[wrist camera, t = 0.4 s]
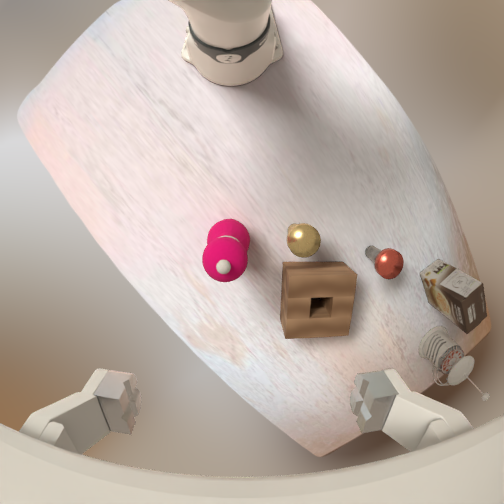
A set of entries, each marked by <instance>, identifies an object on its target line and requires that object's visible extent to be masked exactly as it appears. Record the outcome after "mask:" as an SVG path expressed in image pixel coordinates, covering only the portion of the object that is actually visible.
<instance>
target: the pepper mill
mask: <svg viewBox="0 0 504 504" xmlns="http://www.w3.org/2000/svg"><path fill="white" fill-rule="evenodd" d="M207 244H208V245H207V246H206V248H205V250H204V252H203V259H202V260H203V266H204V269H205V271H206V272H207V274H208V275H209V276H210V277H211V278H213V279H215V280H217V281H220V282H230V281H233V280H235V279H237V278H239V277H240V276H241V275H242V274H243V272H244V271H245V269H246V267H247V261H248V257H247V251H248V248H249V244H250V236H249V233H248V231H247V229H246V228H245V227H244V226H243V225H242V224H241V223H240V222H238V221H236V220H234V219H225V220H222V221H219V222H217V223H216V224H215V225H214V226H213V227H212V228H211V229H210V231H209V234H208V238H207Z"/></svg>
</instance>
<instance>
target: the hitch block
mask: <svg viewBox="0 0 504 504" xmlns="http://www.w3.org/2000/svg"><path fill="white" fill-rule="evenodd" d="M356 281H357V274H356V273H355V272H354V271H353V270H352V269H350V268H349V267H348V266H347V265H346V264H345V263H344V262H283V271H282V293H281V312H280V320H281V324H282V328H283V332H284V335H285V339H293V338H315V337H332V336H346V335H349V329H350V323H351V316H352V310H353V303H354V296H355V289H356ZM318 297H320V300H311V298H318Z"/></svg>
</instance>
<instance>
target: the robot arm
mask: <svg viewBox="0 0 504 504" xmlns="http://www.w3.org/2000/svg"><path fill="white" fill-rule="evenodd" d="M168 1H170V2H172V3H174V4H175V5H177V6H179V7H180V8H181V9H183V10H184V12H185V14H186V15H187V17H188V19H189V26H187V28H186V33H187V36H186V39H185V43H184V46H183V49H182V52H181V56H182V58H183V59H184V60H185V61H187V62H189V63H191V64H193V65H194V66H195V67H196V69H197V70H198V71H199V73H200V74H201V75H202V76H203V77H205V78H206V79H207V80H209V81H211V82H213V83H216V84H219V85H225V86H236V85H242V84H245V83H248V82H250V81H252V80H254V79H256V78H257V77H259V76H260V75H261V74H262V73H263V72H264V71H265V69H266V68H267V67H268V66H269V65H270V64H271V63H273V62H275V61H277V60H279V59H281V58H282V56H283V50H282V46H281V42H280V38H279V35H278V31H277V27H276V23H275V20H274V16H273V13H272V9H271V2H272V0H168ZM275 47H277V49H275ZM354 383H355V385H356V387H355V388H354V389H353V390H352V392H351V396H350V405H351V409H352V412H353V414H355V415H357V416H358V418H357V423H358V426H359V428H360V430H361V432H362V433H366V432H372V431H377V430H382V431H383V432H385V433H386V434H387V435H389V436H390V437H391V438H393V439H394V440H396V441H397V442H399V443H400V444H401V445H403V446H404V447H405V448H407V449H408V450H409V451H411V452H410V453H407V454H403V455H400V456H396V457H393V458H388V459H385V460H381V461H376V462H372V463H367V464H363V465H358V466H353V467H347V468H342V469H336V470H329V471H322V472H315V473H307V474H296V475H284V476H267V477H218V476H199V475H187V474H178V473H169V472H162V471H155V470H148V469H142V468H136V467H131V466H126V465H121V464H117V463H112V462H108V461H104V460H100V459H96V458H92V457H89V456H85V455H82V454H83V453H84V452H85V451H87V450H88V449H89V448H91V447H92V446H93V445H94V444H96V443H97V442H98V441H100V440H101V439H102V438H104V437H105V436H106V435H107V434H109V433H110V431H113V432H118V433H125V434H131V433H132V431H133V428H134V425H135V423H136V422H135V419H134V417H135V416H137V415H138V414H139V412H140V409H141V395H140V391H139V390H138V389H137V388H136V384H137V379H136V376H135V375H134V374H133V373H126V372H119V371H113V370H106V369H99V368H98V369H96V370H95V372H94V373H93V375H92V376H91V378H90V379H89V381H88V383H87V384H86V385H85V387H84V388H83V390H82V392H81V393H80V392H77V393H75V394H72V395H70V396H68V397H67V398H64V399H62V400H60V401H58V402H55V403H53V404H51V405H49V406H47V407H45V408H42V409H40V410H38V411H36V412H34V413H32V414H31V415H30V417H29V418H28V419H27V421H26V422H25V424H24V425H23V426H22V428H21V429H20V431H19V432H18V431H16V430H14V429H11V428H9V427H7V426H5V425H2V424H1V423H0V504H504V414H503V415H501V416H499V417H497V418H495V419H494V420H491V421H489V422H487V423H485V424H483V425H481V426H479V427H477V428H473V427H472V426H471V424H470V423H469V422H468V420H467V419H466V418H465V417H464V415H463V414H462V413H461V412H460V411H458V410H456V409H454V408H451V407H449V406H447V405H444V404H442V403H440V402H437V401H435V400H433V399H431V398H429V397H426V396H424V395H422V394H420V393H417V392H415V391H413V392H411V391H410V389H409V388H408V387H407V385H406V384H405V382H404V381H403V380H402V378H401V377H400V375H399V374H398V373H397V371H396V370H395V369H393V368H390V369H384V370H381V371H373V372H366V373H358V374H357V375H356V377H355V380H354Z"/></svg>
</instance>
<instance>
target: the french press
mask: <svg viewBox="0 0 504 504" xmlns="http://www.w3.org/2000/svg"><path fill="white" fill-rule="evenodd" d="M456 345H457V349H456ZM453 346H454V351H453ZM451 347H452V352H450V351H451ZM448 348H449V351H448V353H447V354H446V355H445V356H443V357H441V356H442V355H444V354H445V353H446V352H447V350H448ZM419 354H420V356H421V357H422V358H425V359H427V358H428V359H429V361H430V362H431V363H432V364H433V371H434V366H435V367H436V368H437V373H438V370H439V371H440V369H441V371H442V373H443V374H449V375H448V378H447V381H448V382H449V384H450V385H457V384H459V383H460V382H462V381H463V380H465V379H466V378H468V375H469V374H470V372H471V371H472V369H473V366H474V359H473V357H471V356H465V357H464V352H463V350H462V349H461V347H460V346H459V345H458V344H457V343H456V342H455V341H453V340H452V339H451V338H450V337H449V336H448V332H447V330H446V328H444V327H442V326H438V327H435V328H433V329H431V330H430V331H429V332H428V333H427V334H426V335H425V336H424V337H423V339H422V340H421V342H420V345H419ZM440 357H441V358H440ZM445 357H446V358H445ZM443 358H445V359H444V360H442V359H443ZM431 359H432V361H431ZM434 362H435V364H434ZM437 366H438V367H440V369H439V368H438V367H437ZM433 371H432V375H433ZM437 378H438V375H437ZM433 379H434V375H433ZM468 379H469V378H468ZM469 380H470V379H469ZM434 381H435V382H436V380H435V379H434ZM438 381H439V382H440V380H439V378H438ZM470 381H471V380H470ZM448 382H447V383H448ZM471 382H472V381H471ZM436 383H437V382H436ZM440 383H441V382H440ZM447 383H445V384H442V383H441V384H442V385H441V384H438V383H437V384H438V385H440V386H443V385H446V384H447ZM472 383H473V382H472ZM449 384H447V385H449ZM473 384H474V383H473ZM447 385H446V386H447ZM474 385H475V384H474ZM476 387H477V386H476ZM477 389H478V390H479V391H480V389H479V388H477ZM480 392H481V391H480ZM481 393H482V392H481ZM482 394H483V393H482ZM488 399H489V393H488V392H487V393H485V394H483V397H482V400H484V401H486V400H488Z"/></svg>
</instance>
